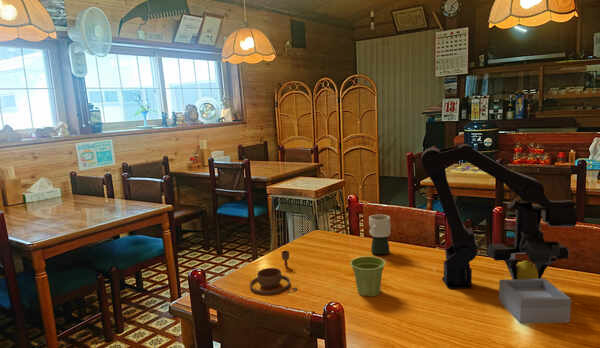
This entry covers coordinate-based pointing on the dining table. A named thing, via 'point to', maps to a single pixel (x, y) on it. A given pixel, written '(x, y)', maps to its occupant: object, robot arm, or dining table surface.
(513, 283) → the grey open box
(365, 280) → the plant pot
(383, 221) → the character mug
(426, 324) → the dining table surface
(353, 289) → the dining table surface
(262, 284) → the place setting
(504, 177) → the robot arm
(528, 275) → the lemon
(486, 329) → the dining table surface
